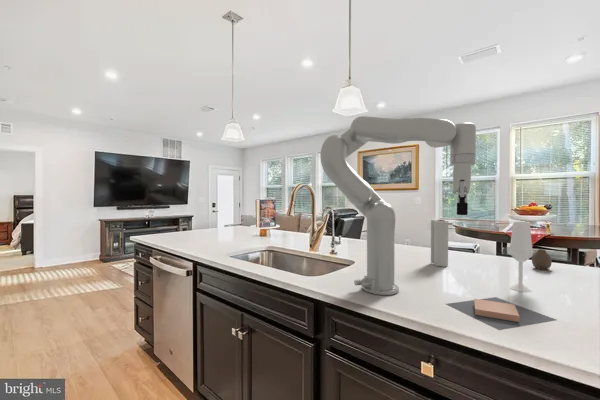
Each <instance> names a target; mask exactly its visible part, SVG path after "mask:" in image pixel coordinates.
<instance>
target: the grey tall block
mask: <svg viewBox="0 0 600 400" xmlns="http://www.w3.org/2000/svg"><path fill="white" fill-rule="evenodd" d="M430 264H434V266H436V267H448V266H449V220H444V219H431V220H430Z"/></svg>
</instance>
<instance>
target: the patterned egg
mask: <svg viewBox="0 0 600 400" xmlns="http://www.w3.org/2000/svg"><path fill="white" fill-rule="evenodd" d="M531 264H532V266H533V267H534V268H535V269H536V268H537V270H541V271H547V270H548V269H550V268H551V266H552V257H551V256H550V254H549V253H548V252H547V251H546V249H543V248H538V249H537V251H535V252H534V253H533V255H532V256H531Z"/></svg>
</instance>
